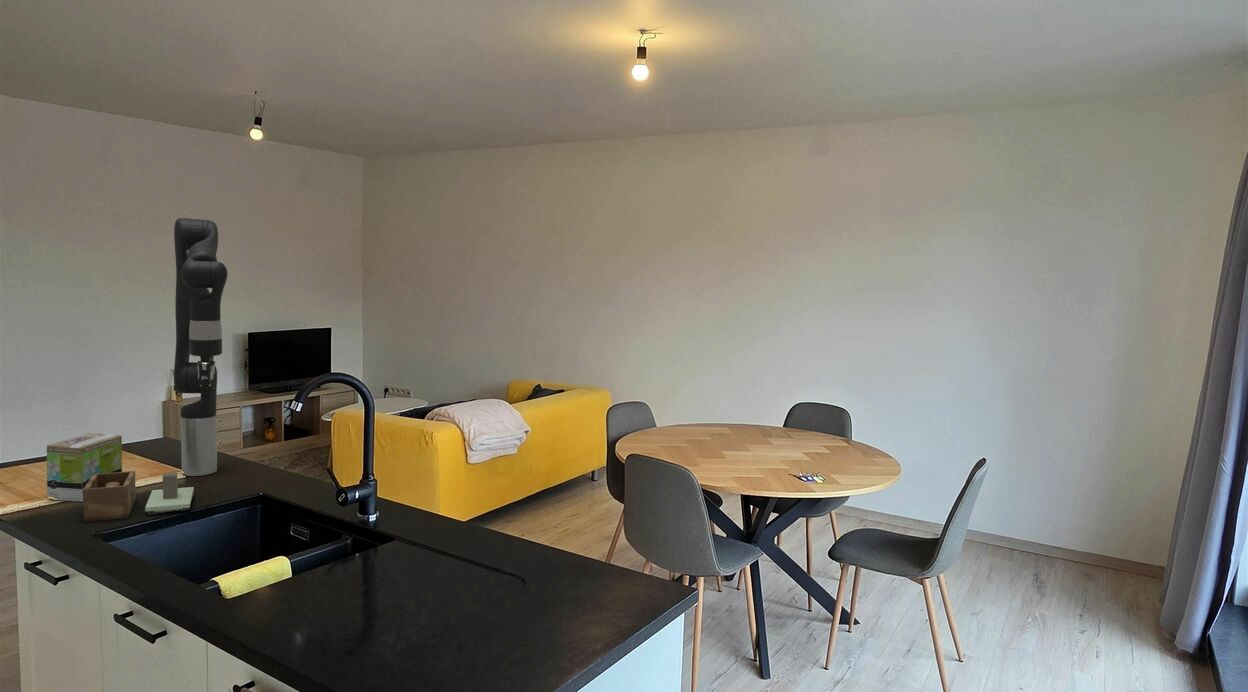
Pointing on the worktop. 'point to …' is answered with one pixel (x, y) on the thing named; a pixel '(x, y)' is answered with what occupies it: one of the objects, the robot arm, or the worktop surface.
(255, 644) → the worktop surface
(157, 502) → the lid
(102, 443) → the tea box
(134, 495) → the crate
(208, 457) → the robot arm
